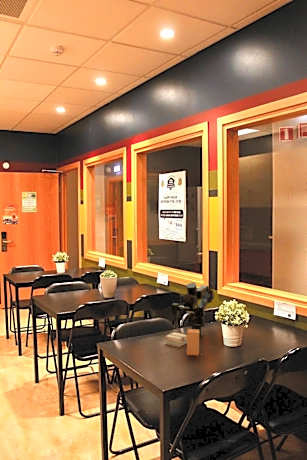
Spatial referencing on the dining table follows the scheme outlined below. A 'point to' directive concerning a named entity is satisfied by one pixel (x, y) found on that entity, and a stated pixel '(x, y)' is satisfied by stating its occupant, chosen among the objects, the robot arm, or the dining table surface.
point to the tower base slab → (176, 343)
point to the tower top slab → (176, 337)
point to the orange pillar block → (193, 342)
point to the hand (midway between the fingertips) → (183, 318)
